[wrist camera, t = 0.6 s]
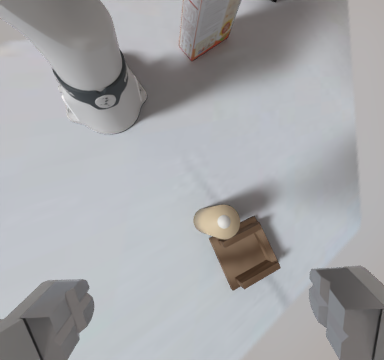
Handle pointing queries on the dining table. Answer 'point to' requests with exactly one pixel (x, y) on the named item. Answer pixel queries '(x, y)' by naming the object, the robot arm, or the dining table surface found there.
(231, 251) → the holder
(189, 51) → the cracker box
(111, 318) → the dining table surface
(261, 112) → the dining table surface
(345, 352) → the robot arm
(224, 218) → the beige bottle
